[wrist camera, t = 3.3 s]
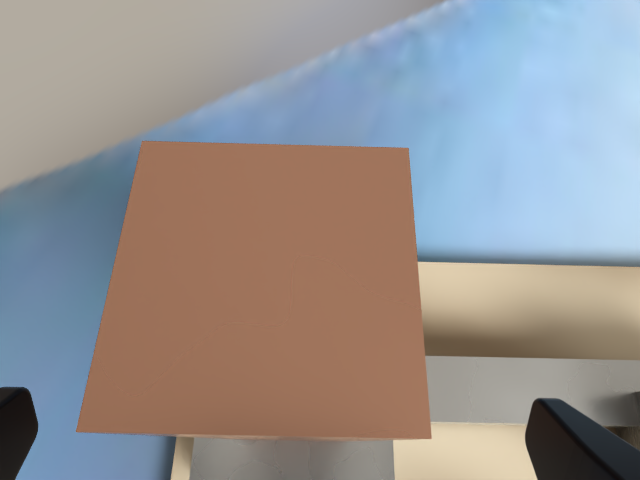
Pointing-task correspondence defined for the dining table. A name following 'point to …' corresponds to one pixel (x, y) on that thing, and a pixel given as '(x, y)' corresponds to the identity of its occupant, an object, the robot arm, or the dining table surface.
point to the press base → (505, 350)
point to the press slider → (297, 320)
